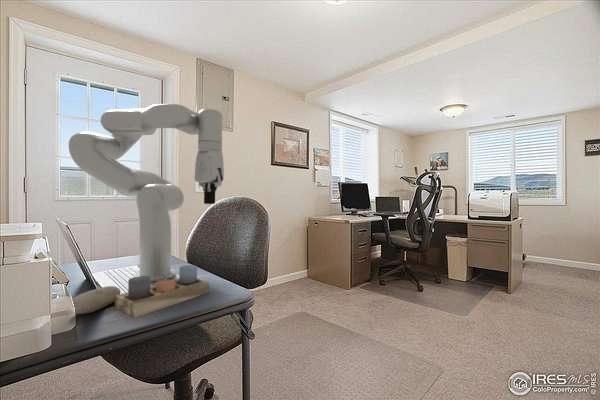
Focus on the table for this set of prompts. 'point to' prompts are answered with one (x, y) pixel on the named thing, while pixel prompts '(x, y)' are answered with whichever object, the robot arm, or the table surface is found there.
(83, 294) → the stone
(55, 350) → the table surface
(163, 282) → the terracotta button
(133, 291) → the charcoal button
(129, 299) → the birch board
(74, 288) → the table surface
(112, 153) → the robot arm
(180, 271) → the slate button
